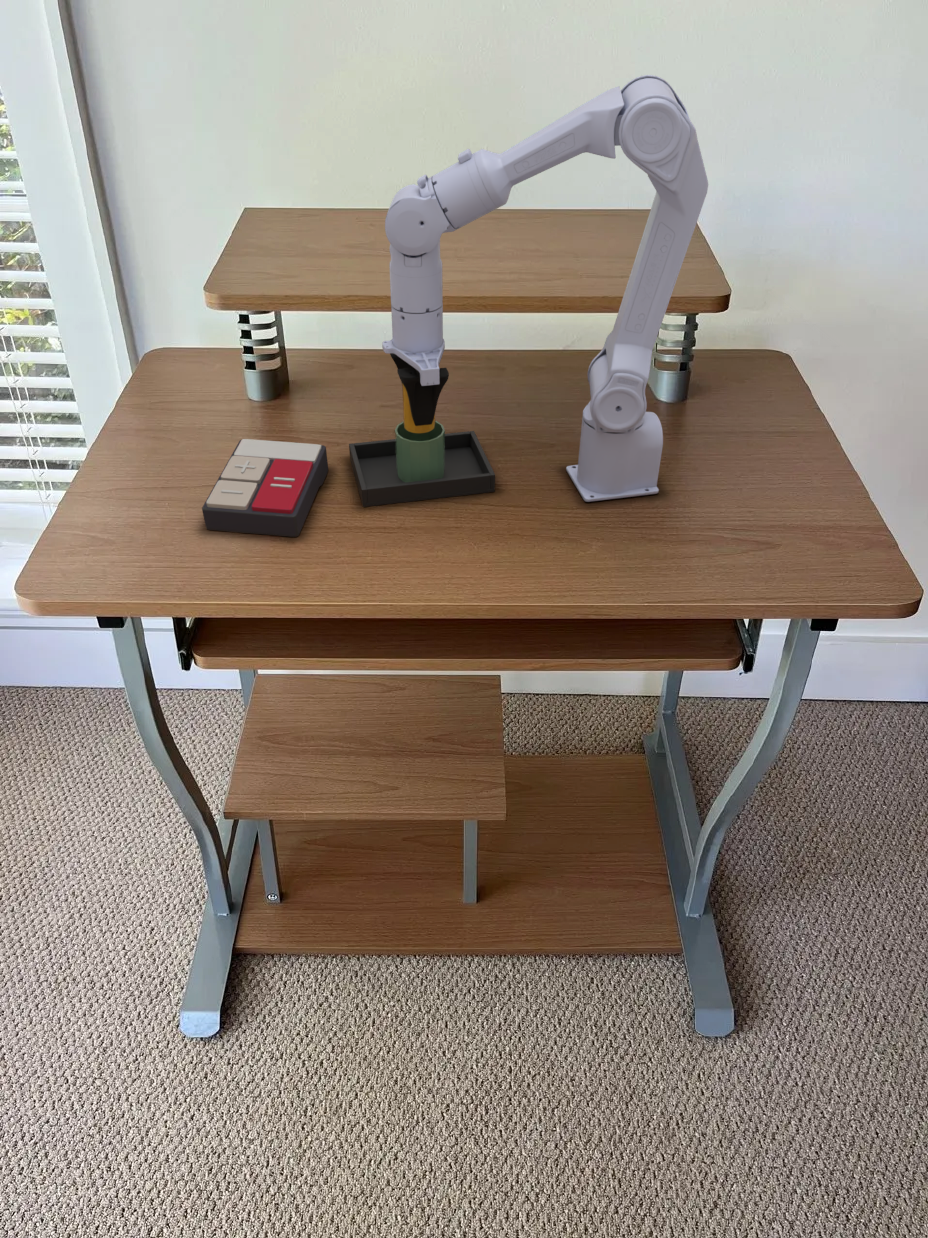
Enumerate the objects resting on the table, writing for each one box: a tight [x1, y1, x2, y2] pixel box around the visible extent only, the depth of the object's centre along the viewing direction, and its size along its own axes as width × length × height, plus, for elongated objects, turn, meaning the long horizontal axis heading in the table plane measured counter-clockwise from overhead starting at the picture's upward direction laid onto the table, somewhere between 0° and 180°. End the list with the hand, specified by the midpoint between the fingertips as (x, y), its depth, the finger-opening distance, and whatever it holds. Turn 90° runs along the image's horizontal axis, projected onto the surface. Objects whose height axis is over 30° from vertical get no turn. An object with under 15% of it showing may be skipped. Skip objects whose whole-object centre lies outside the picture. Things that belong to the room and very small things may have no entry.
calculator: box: [201, 438, 329, 538], centre depth 117 cm, size 11×4×15 cm
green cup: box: [394, 420, 446, 482], centre depth 121 cm, size 6×6×6 cm
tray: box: [348, 430, 496, 508], centre depth 122 cm, size 16×11×2 cm
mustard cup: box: [401, 383, 436, 433], centre depth 117 cm, size 4×4×6 cm
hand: (419, 415), depth 118 cm, fingers closed on mustard cup, 4 cm apart
